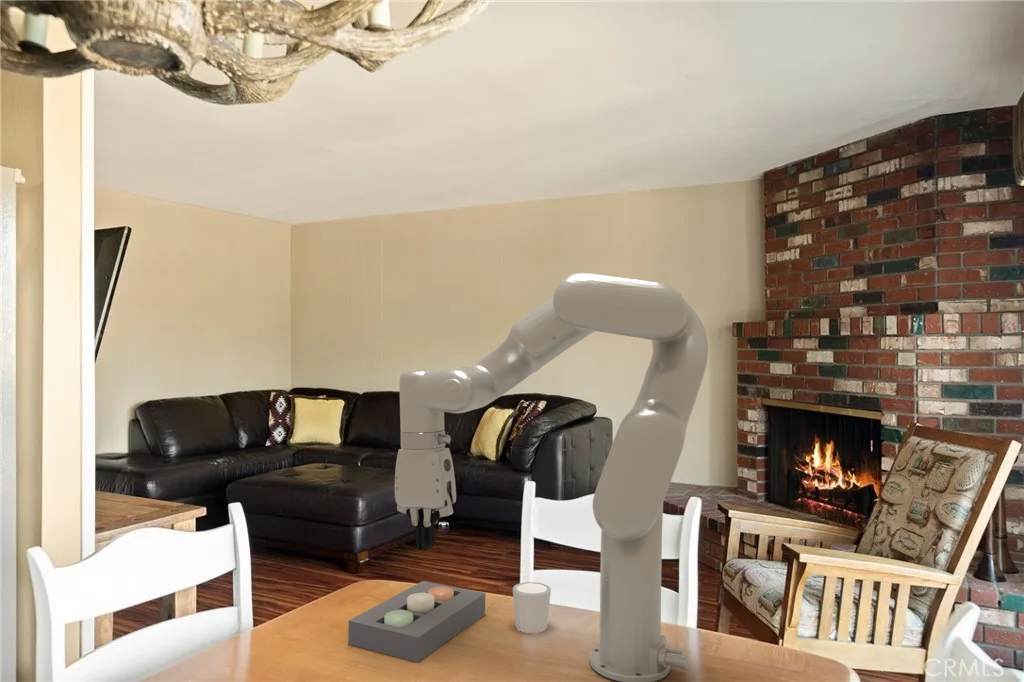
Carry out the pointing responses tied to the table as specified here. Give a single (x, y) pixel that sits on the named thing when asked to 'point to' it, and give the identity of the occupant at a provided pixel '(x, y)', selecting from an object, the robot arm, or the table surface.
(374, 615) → the console
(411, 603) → the cream button
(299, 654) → the table surface
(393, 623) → the sage button
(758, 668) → the table surface
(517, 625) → the light grey cup
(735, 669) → the table surface
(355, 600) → the table surface
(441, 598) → the terracotta button
